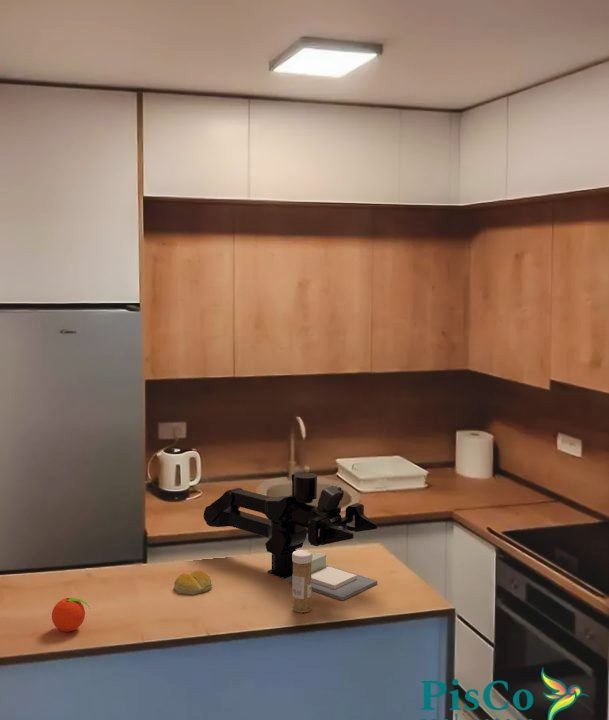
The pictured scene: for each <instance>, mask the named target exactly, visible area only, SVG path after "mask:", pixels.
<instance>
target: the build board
mask: <svg viewBox="0 0 609 720" xmlns="http://www.w3.org/2000/svg"><path fill="white" fill-rule="evenodd" d="M285 582H287V583H289V584H292V585H293V576H290V577H288V578H286V579H285ZM376 585H378V580H377V579H373V578H370V577H367V576H364V575H360V574H356V573H353V572H350V571H347V570H344V569H341V568H338V567H335V566H331V565H327V554H324V553H320V552H315V553H312V562H311V592H316V593H319V594H322V595H325V596H327V597H330V598H333V599H336V600H339V601H345V600H347V599H349V598H352V597H353V596H355V595H357V594H360V593H361V592H364V591H366V590H367V589H370V588H371V587H373V586H376Z"/></svg>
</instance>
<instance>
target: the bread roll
mask: <svg viewBox="0 0 609 720" xmlns="http://www.w3.org/2000/svg"><path fill="white" fill-rule="evenodd" d="M212 588H213V584H212V579H211V577H210V576H209V574H208V573H207V572H205V571H203V570H194V571H192V572H191V573H183V574H180V575H179V576H177V578H176V579H175V581H174V590H175V591H176V592H177V593H179V594H184V595H197V594H201V593H206V592H208V591H210V590H212Z"/></svg>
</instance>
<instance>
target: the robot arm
mask: <svg viewBox="0 0 609 720" xmlns="http://www.w3.org/2000/svg"><path fill="white" fill-rule="evenodd" d="M344 494H345V492H344V490H343V489H342V487H341V486H339V487H338V486H334V485H332V486H328V487H326V488H323V489H322V490H321V491H320V495H319V498H318V475H317V473H314V472H309V473H307V472H305V473H304V472H303V473H298V472H295V473H292V474H291V494H290V495H288V496H287V495H282V496H269V495H264V494H262V493H256V492H253V491H249V490H245V489H243V488H241V487H234V488H232V489H228V490H226V491H225V492H224V493H223V494H222V495H221V496H220V497H218V498H217V499H216V500H214V501H213V502H212V503H211V504H209V505H206V507H205V508H204V511H203V520H204V522H205V524H206V525H207V526H208V527H212V528H223V527H224V528H225V527H232V528H235V529H238V530H242V531H245V532H248V533H251V534H255V535H259V536H261V537H264V538H267V539H268V540H267V541H266V542H265V544H264V545H265V548H266V552H267V553H270V554H271V568H270V569H269V570H267V572H266V573H267V574H270V575H272V576H275V577H277V578H282V579H285V580H286V578H288V577H290V576H293V561H292V553H293V552H294V551H297V549H298V550H299V549H301V548H303V545H304V543H305V541H306V539H307V541H308V543H309V545H311V546H314V547H320V546H325V545H329V544H333V543H338V542H342V541H343V542H344V541H348V540H353V539H354V535H355V534H354V533H357V532H358V533H359V532H366V531H371V530H377V529H378V524H377V523H376V522H374V521H373V520H371V519H370V518H369V517H368V516H366V515H365V514H364V513H365V505H364V504H361V503H358V502H356V503H353V504H350V505H348V506H347V507H346V508H345V516H343V517H342V515H341V512H342V507H339V505H340V502H342V500H343V497H344ZM317 498H318V501H317V505H313V504H311V503H313V502H314V500H316V499H317ZM240 508H242V509H247V510H250V511H254V512H258V513H261V514H263V515H265V517H263V516H259V515H257V514H254V513H253V514H252V513H249V512H245V511H242V510H239V509H240ZM345 528H346V529H345ZM352 532H354V533H352Z"/></svg>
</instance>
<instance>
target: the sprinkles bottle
mask: <svg viewBox="0 0 609 720" xmlns="http://www.w3.org/2000/svg"><path fill="white" fill-rule="evenodd" d="M296 550H297V549H296ZM312 554H313V553H312V551H311V550H307V549H298V550H297V551H294V552H293V553H292V561H293V584H292V606H291V607H292V610H293V611H294V612H297V613H301V614H303V612H304V613H308V612H310V611H311V610H312V595H313V594H312V593H313V591H312V590H311V562H312Z"/></svg>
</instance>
